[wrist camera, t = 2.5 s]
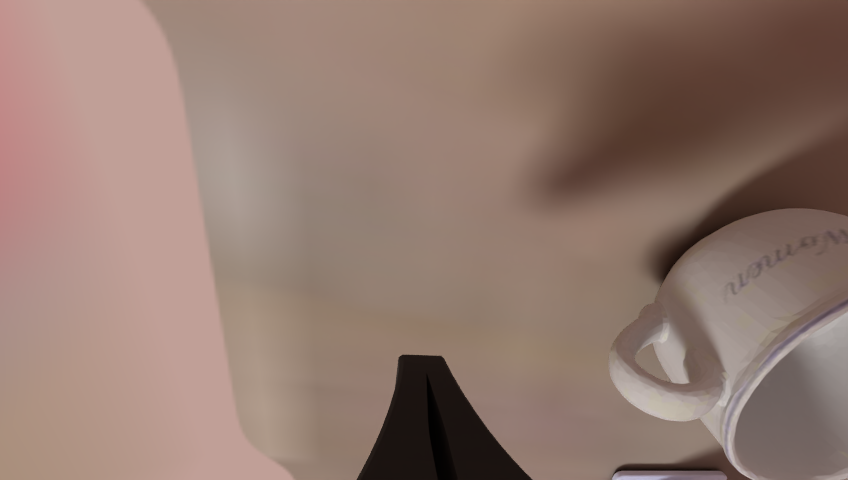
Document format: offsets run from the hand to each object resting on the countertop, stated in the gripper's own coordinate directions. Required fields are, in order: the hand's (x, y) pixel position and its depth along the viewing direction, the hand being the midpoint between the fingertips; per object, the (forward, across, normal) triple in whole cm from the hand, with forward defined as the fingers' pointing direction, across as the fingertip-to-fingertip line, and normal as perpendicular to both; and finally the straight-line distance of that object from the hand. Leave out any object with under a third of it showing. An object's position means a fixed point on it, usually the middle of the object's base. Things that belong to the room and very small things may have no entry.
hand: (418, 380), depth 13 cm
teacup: (+8, -15, 0) cm, 17 cm away
